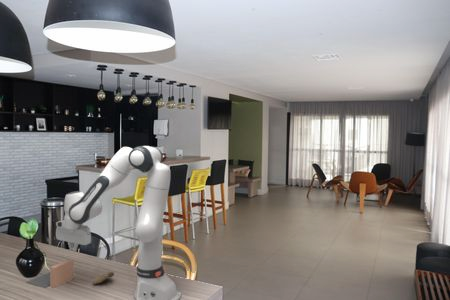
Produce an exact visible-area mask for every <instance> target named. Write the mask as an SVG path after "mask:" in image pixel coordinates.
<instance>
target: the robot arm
mask: <svg viewBox="0 0 450 300" xmlns="http://www.w3.org/2000/svg"><path fill="white" fill-rule="evenodd" d="M163 155H164V154H163V153H162V151H161V149H159V148H157V147H156V146H150V145H139V146H136V147H134V148H132V147H129V146H122V147H121V148H120V149H119V150H118V151H117V152H116V153H115V154H114V155H112V157H111V159H110V160H109V161H108V163H107V164H106V165H105V168H104V169H103V170H102V172H101V173H100V174H99V176H98V177H97V178H96V180H95V181H94V182H93V183H92V184H91V185H90V187H89V188H88V190H87V191H86V192H85V193H84V192H83V191H82V190H80V191H79V190H77V191H76V190H75V191H71V192H68V193H66V195H65V197H64V204H63V206H64V207H63V211H64V216H63V219H62V220H59V221H57V222H55V226H56V227H55V228H56V229H55V238H56V240H57V241H62V242H67V245H68V247H69V251H71V252H77V251H78V250H77V249H78V246H79V245H83V246H88V245H89V244H90V245H91V243H92V233H91V229H90V227H89V226H88V225H84V224H85V223H86V222H88V221H90V220H92V219H94V218H96V217H98V216H99V215H101V214H102V211H103V205H102V203H101V201H100V198H101V196H103V194H104V193H106V192H107V191H109V190H110V189H113V188H115V187H117V186H119V185H121V184H122V182H123V181H125V180H126V179H127V178H128V176H129V175H130V173H131V172H132V170H133V169H136V170H138V171H140V172H141V173H145V174H146V177H147V178H146V182H145V188H144V191H143V192H144V194H143V198H142V203H141V205H140V209H139V213H138V216H137V221H136V225H135V228H134V234H135V237H136V239H137V240H138V242H139V243H138V249H137V266H136V276H137V280H136V287H135V291H134V295H133V297H134V298H135V300H180V299H181V298H182V292H180V291H178V290H177V286H176V282H174V281H173V280H172V279H171V278H170V277H169V276H168V275H167V274H166V273H165V271H166V270H167V267H164V266H163V264H162V245H163V236H164V235H163V234H164V219H163V217H164V213H165V209H166V206H167V202H168V201H167V200H168V196H169V191H170V185H171V169H170V167H169V166H168V165H167V164H165V163H163V160H164V156H163Z"/></svg>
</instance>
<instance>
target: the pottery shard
mask: <svg viewBox="0 0 450 300" xmlns="http://www.w3.org/2000/svg"><path fill="white" fill-rule="evenodd" d="M114 275H115V272H114V271H108V272H107V273H104V274H101V275H98V276H96V277H95V278H94V280H93V282H92V284H93V285H95V284H99V283H102V282H104V281H106V280H107V279H108V278H112V277H114Z"/></svg>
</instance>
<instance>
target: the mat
mask: <svg viewBox="0 0 450 300" xmlns="http://www.w3.org/2000/svg"><path fill="white" fill-rule="evenodd" d="M25 283H26V284H30V285H34V286H36V287H37V286H38V287H41V288H45V289H46V288H48V287H50V271H49V272H47V273H44V274H42V275H39V276H37V277H34V278H33V279H30V280H26V281H25Z"/></svg>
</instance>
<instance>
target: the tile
mask: <svg viewBox="0 0 450 300" xmlns="http://www.w3.org/2000/svg"><path fill="white" fill-rule="evenodd" d="M49 272H50V286H49V287H51V288H54V289H55V288H57V287H60V286H61V285H64V284H65V283H67V282H69V281H72V280H74V279H75V278H74V272H75V271H74V260H73V259H67V260H64V261H61V262H59V263H57V264H54V265H52V266H50V267H49Z"/></svg>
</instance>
